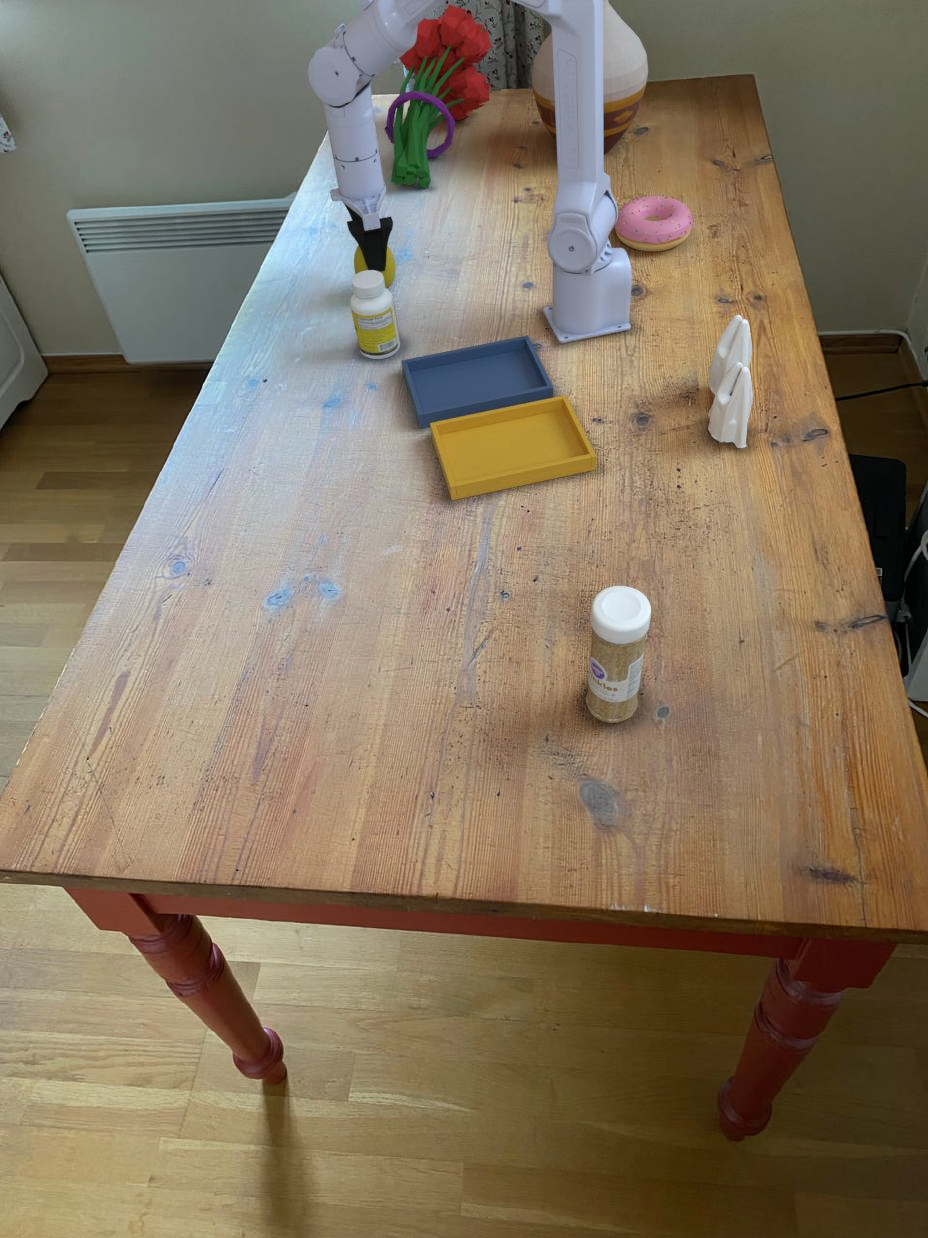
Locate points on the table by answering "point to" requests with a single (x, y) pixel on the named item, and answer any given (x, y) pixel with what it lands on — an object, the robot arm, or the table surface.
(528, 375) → the blue tray
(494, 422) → the yellow tray
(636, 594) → the sprinkles bottle
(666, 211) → the doughnut
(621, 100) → the jug
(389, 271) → the lemon
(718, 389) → the shaker set
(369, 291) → the supplement bottle
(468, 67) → the bouquet
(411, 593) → the table surface
